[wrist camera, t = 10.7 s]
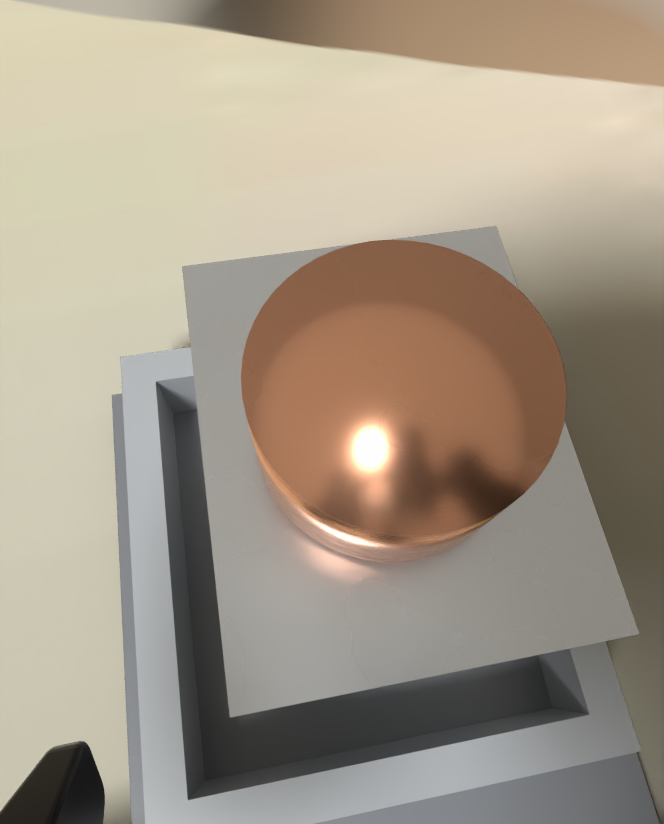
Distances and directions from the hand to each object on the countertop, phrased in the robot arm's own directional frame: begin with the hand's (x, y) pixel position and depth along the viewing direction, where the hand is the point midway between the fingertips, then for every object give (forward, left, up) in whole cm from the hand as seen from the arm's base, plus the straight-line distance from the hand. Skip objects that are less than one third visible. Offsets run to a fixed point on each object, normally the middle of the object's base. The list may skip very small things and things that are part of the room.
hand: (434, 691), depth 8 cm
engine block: (+2, -3, -10) cm, 11 cm away
